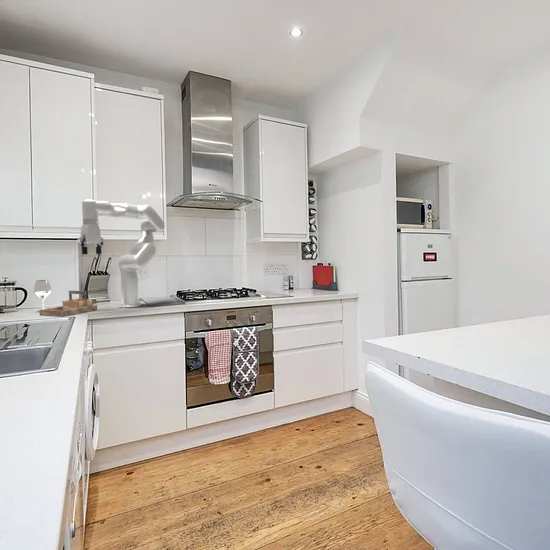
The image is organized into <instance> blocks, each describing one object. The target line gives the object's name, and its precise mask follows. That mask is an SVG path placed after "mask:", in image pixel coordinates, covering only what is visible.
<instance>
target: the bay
mask: <svg viewBox="0 0 550 550" xmlns="http://www.w3.org/2000/svg"><path fill="white" fill-rule="evenodd" d="M94 311H98V305H97V304H93V305H92V306H87V307H81V308H76V309H70V310H65V311H63V305H61V306H56V307H49V308H44V309H43V308H42V309H39V316H44V317H45V316H46V317H60V318H64V317H69V316H75V315H81V314H85V313H90V312H94Z"/></svg>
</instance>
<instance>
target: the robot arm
mask: <svg viewBox="0 0 550 550" xmlns="http://www.w3.org/2000/svg"><path fill="white" fill-rule="evenodd" d="M81 208H82V209H81V211H82V225H81V228H80V236H79V237H78V238H77V241H78V244H79V245H80V247H81V254H82V255H88V254H89V252H88V244H89V245H90V244H94V245H95V254H96V255H102V247H103V245H104V242H105V239H104V238H103V237H101V236H102V235H101V230H100V226H99V223H100V222H99V217H111V218H124V219H135V220H142V221H141V223H140V230H141V232H140V233H141V235H140V237H139V239H138V240H137V241H136V242H135V243H134V244H133V245H132V246H131V248H130V254H123V255H122V256H120V257H119V259H118V268H119V271H120V272H119V273H120V286H121V288H120V289H121V292H120V293H121V304H119V305H118V307H119V308H136V307H141V306H142V303H140V302H143V301H144V299H143V298H142V297H141V298H139V283H138V281H139V279H138V274H137V272H136V271H142V270H145V268H146V267H147V266H148V265H149V263H150V262H151V261H152V260H153V259H154V257H155V255H156V251H157V250H156V246H155V245H154V241H155V240H154V233H161V232H162V231H163V230H164V229H165V226H166V225H165V222H164V220H163V219H162V216H161V215H160V214H158V212H157V210H155V208H153V207H152V206H151V205H149V204H131V203H124V202H123V203H122V202H120V203H119V202H118V203H116V202H115V203H111V202H110V201H107V200H94V199H83V200H82V202H81Z"/></svg>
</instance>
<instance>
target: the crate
mask: <svg viewBox="0 0 550 550" xmlns="http://www.w3.org/2000/svg"><path fill="white" fill-rule="evenodd" d="M67 291H68V298H69V299H66V300H62V306H63V311H65V310H70V309H76V308H81V307H87V306H92V305H94V299H93V298H87V294H88V293H87V292H88V291H87V290H67ZM72 295H83V298H74V299H73V296H72Z"/></svg>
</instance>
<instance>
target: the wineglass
mask: <svg viewBox="0 0 550 550" xmlns="http://www.w3.org/2000/svg"><path fill="white" fill-rule="evenodd" d="M33 293H34V295H35V296H37V297H38V298H39V299H41V300H42V301H41V302H42V303H41V304H42V309H45V299H46V298H47V297H48V296H50V294H51V293H52V288H51V285H50V281H49V279H44V280H43V279H39V280H36V281H35V283H34V287H33Z"/></svg>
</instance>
